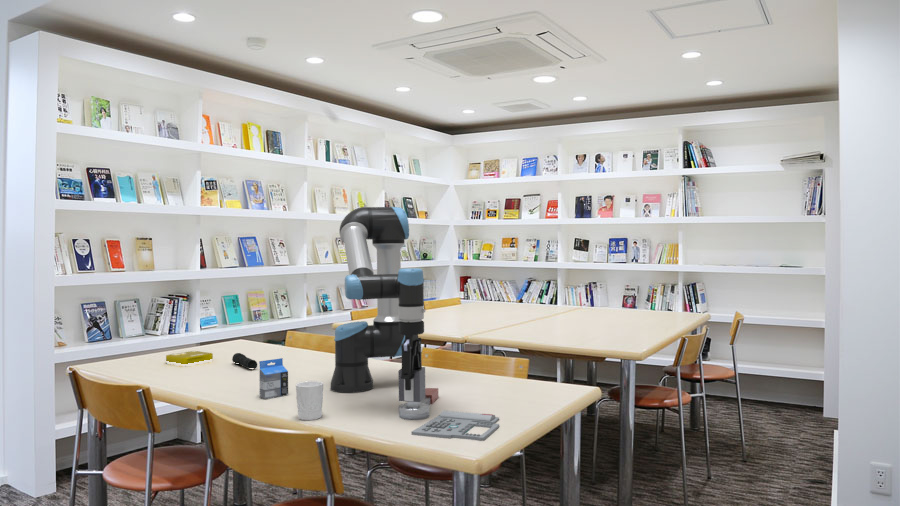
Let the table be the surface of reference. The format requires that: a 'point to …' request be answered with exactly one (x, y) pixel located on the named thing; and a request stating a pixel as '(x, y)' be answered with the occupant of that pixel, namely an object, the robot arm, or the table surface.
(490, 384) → the table surface
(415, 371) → the dark grey storage bin
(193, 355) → the element tile
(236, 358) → the flashlight
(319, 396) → the white cup
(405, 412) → the grey and red tool
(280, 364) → the label tape cartridge
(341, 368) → the robot arm
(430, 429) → the office telephone
